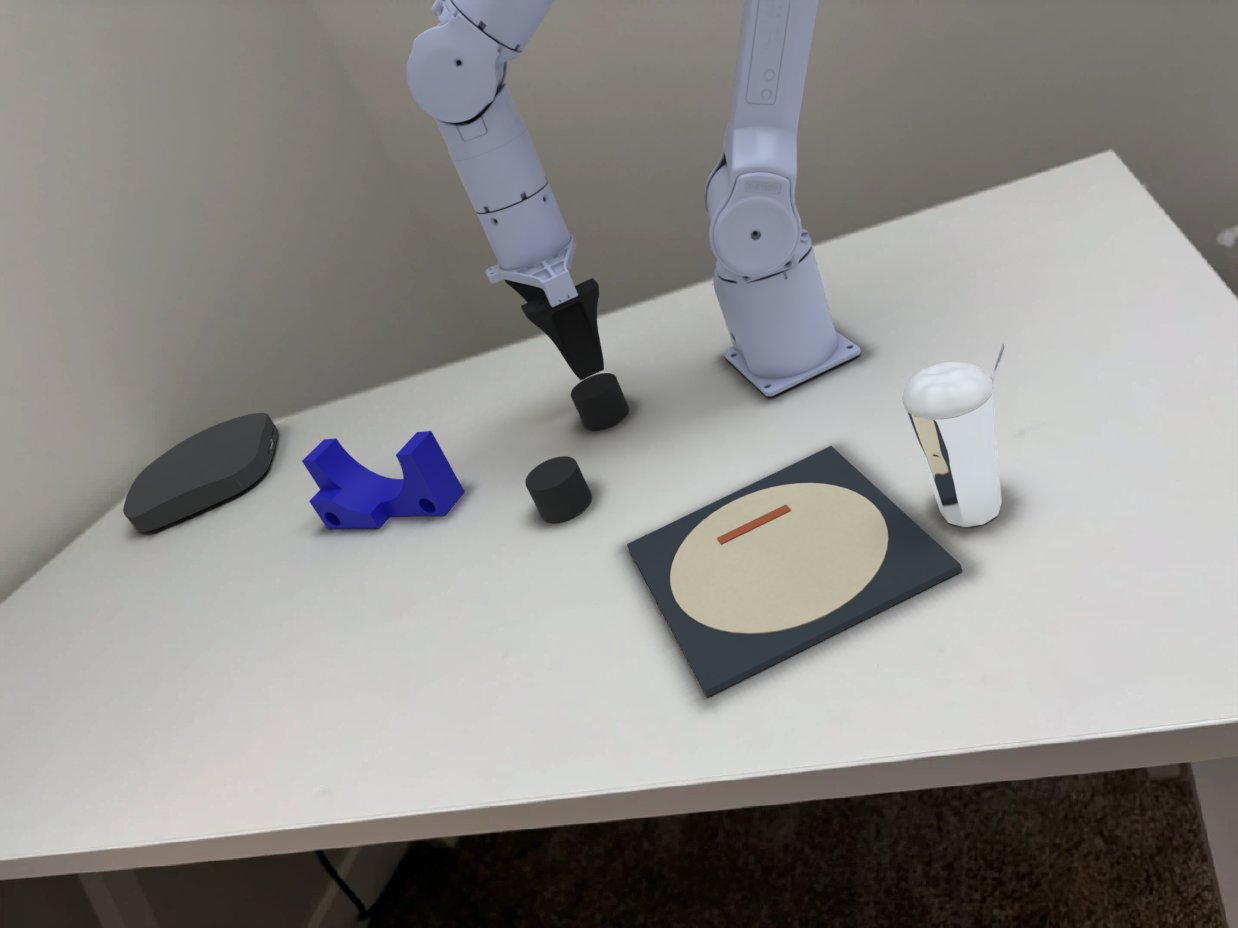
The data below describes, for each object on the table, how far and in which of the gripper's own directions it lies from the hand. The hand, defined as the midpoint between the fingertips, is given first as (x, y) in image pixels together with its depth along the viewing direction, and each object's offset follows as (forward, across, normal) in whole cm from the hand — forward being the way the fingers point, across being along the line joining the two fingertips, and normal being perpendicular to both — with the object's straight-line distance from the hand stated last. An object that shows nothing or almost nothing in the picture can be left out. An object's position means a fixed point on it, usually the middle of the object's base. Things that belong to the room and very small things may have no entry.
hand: (579, 356), depth 75 cm
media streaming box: (+6, -25, -38) cm, 46 cm away
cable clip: (+6, -1, -19) cm, 20 cm away
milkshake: (+6, +30, +15) cm, 34 cm away
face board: (+6, +26, +4) cm, 27 cm away
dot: (+6, 0, 0) cm, 6 cm away
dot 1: (+6, +10, -6) cm, 13 cm away
